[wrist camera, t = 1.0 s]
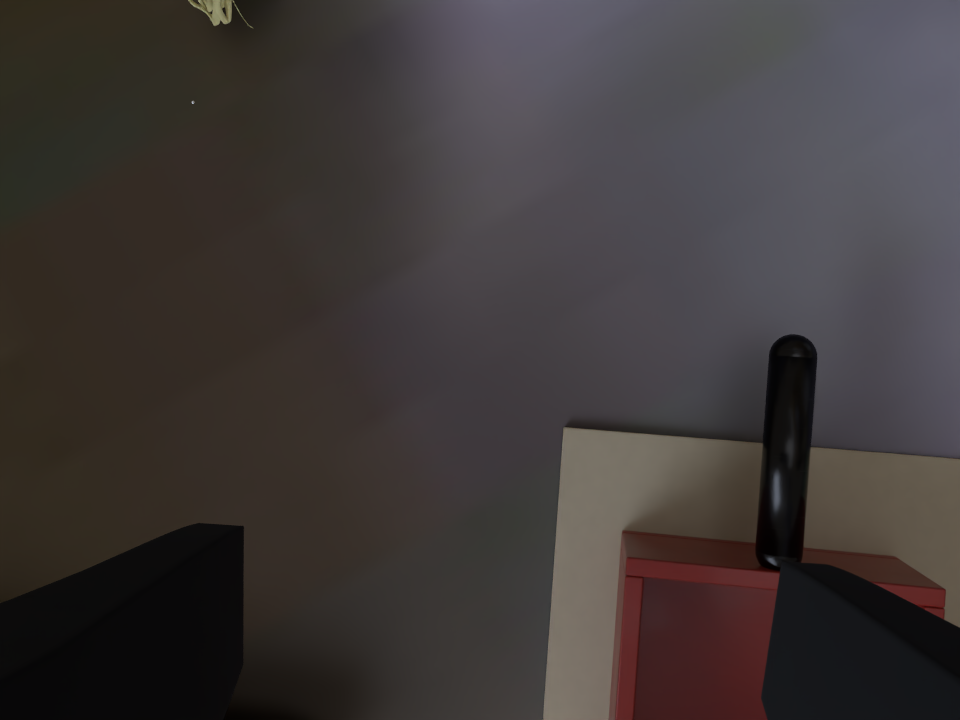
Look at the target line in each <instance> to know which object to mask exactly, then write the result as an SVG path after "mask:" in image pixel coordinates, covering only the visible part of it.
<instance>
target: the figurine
mask: <svg viewBox="0 0 960 720" xmlns="http://www.w3.org/2000/svg"><path fill="white" fill-rule="evenodd" d="M188 1H189V2H190V3H191V4H192V5H193V6H195V7H196V8H198V9H200V10H202V11H203V12H205V13H206V14H207V15H208V16H209V18H210V19H211V21H212V23H213V25H214V26H216V25H218V24H219V23H220V20H221V21H222V22H223V23H224V24H228V23H229V22H230V21H231V17H232V0H198V1H199V3H200V4H201V5H198V4H196V3H195V2H194V1H192V0H188ZM233 2H234V1H233ZM234 4H235V3H234ZM235 6H236V5H235ZM224 7H225V9H226V16H225V15H224V13H223V10H222V8H224ZM236 8H237V7H236ZM212 10H213V12H212V14H210V13H209V12H211V11H212ZM237 10H238V9H237ZM238 11H239V10H238ZM239 13H240V12H239ZM240 15H241V14H240ZM241 16H242V15H241ZM242 18H243V17H242ZM243 19H244V18H243ZM244 21H245V19H244ZM245 22H246V21H245ZM246 23H247V22H246ZM247 24H248V23H247ZM248 25H249V24H248ZM249 26H250V25H249ZM250 27H251V26H250ZM251 28H253V27H251ZM194 103H195V102H194V101H192V104H194Z"/></svg>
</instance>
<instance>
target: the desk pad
mask: <svg viewBox="0 0 960 720" xmlns="http://www.w3.org/2000/svg"><path fill="white" fill-rule="evenodd" d="M762 447H763V443H757V442H744V441H732V440H720V439H707V438H695V437H682V436H670V435H657V434H645V433H632V432H620V431H607V430H595V429H582V428H570V427H564V429H563V443H562V457H561V471H560V486H559V500H558V514H557V529H556V543H555V557H554V571H553V586H552V600H551V614H550V628H549V643H548V657H547V671H546V686H545V700H544V714H543V720H608V719H609V705H610V690H611V676H612V662H613V648H614V634H615V620H616V606H617V591H618V577H619V563H620V549H621V535H622V531H623V530H627V531H637V532H647V533H658V534H668V535H679V536H689V537H699V538H710V539H720V540H731V541H741V542H752V543H756V530H757V516H758V502H759V488H760V474H761V461H762ZM804 548H814V549H824V550H835V551H845V552H856V553H866V554H877V555H887V556H895V557H897V558H898V559H900V560H901V561H903V562H904V563H906V564H907V565H909V566H911V567H912V568H914V569H915V570H917V571H918V572H920V573H921V574H923V575H924V576H926V577H927V578H929V579H931V580H932V581H934V582H935V583H937V584H938V585H940V586H941V587H943V588H944V589H946V599H945V607H944V609H945V615H944V620H946V621H948V622H950V623H952V624H954V625H956V626H958V627H960V459H956V458H944V457H931V456H919V455H907V454H894V453H882V452H869V451H857V450H844V449H832V448H819V447H811V451H810V465H809V479H808V493H807V507H806V520H805V534H804Z"/></svg>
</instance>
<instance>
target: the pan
mask: <svg viewBox="0 0 960 720" xmlns="http://www.w3.org/2000/svg"><path fill="white" fill-rule="evenodd" d="M816 369H817V352H816V349H815V347H814V345H813V344H812V342H811V341H810V340H808V339H807V338H805V337H804V336H801V335H796V334H790V335H785V336H783V337H781V338H779V339H778V340H777V341H776V342H775V343H774V344H773V345H772V347H771V349H770V353H769V363H768V377H767V391H766V405H765V419H764V433H763V447H762V461H761V474H760V488H759V502H758V516H757V530H756V543H752V542H741V541H731V540H720V539H710V538H699V537H689V536H679V535H668V534H658V533H647V532H637V531H627V530H623V531H622V535H621V549H620V563H619V577H618V591H617V606H616V620H615V634H614V648H613V662H612V676H611V690H610V705H609V719H608V720H767V716H766V713H765V710H764V707H763V703H762V700H761V694H762V687H763V681H764V674H765V668H766V661H767V654H768V648H769V641H770V635H771V628H772V621H773V615H774V608H775V602H776V595H777V588H778V582H779V575H780V569H781V562H782V561H785V562H800V563H816V564H828V565H831V566H834V567H837V568H840V569H843V570H845V571H848V572H850V573H853V574H855V575H857V576H859V577H861V578H863V579H866V580H868V581H870V582H872V583H874V584H876V585H878V586H880V587H882V588H884V589H886V590H888V591H890V592H892V593H894V594H896V595H898V596H899V597H901V598H903V599H905V600H907V601H909V602H911V603H913V604H915V605H917V606H919V607H921V608H923V609H925V610H927V611H928V612H930V613H932V614H934V615H936V616H938V617H940V618H942V619H944V615H945V609H944V607H945V599H946V589H944V588H943V587H941V586H940V585H938V584H937V583H935V582H934V581H932V580H931V579H929V578H927V577H926V576H924V575H923V574H921V573H920V572H918V571H917V570H915V569H914V568H912V567H911V566H909V565H907V564H906V563H904V562H903V561H901V560H900V559H898V558H897V557H895V556H887V555H877V554H866V553H856V552H845V551H835V550H824V549H814V548H804V534H805V520H806V507H807V493H808V479H809V465H810V451H811V438H812V424H813V410H814V396H815V383H816Z"/></svg>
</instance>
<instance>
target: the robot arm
mask: <svg viewBox="0 0 960 720" xmlns="http://www.w3.org/2000/svg"><path fill="white" fill-rule="evenodd" d="M243 564H244V526H234V525H219V524H203V523H197V524H193V525H189V526H186V527H183V528H180V529H178V530H175V531H172V532H170V533H168V534H165V535H163V536H160V537H158V538H156V539H153V540H151V541H149V542H147V543H144V544H142V545H140V546H138V547H135V548H133V549H131V550H129V551H126V552H124V553H122V554H119V555H117V556H115V557H113V558H110V559H108V560H106V561H104V562H101V563H99V564H97V565H95V566H92V567H90V568H88V569H86V570H83V571H81V572H78V573H76V574H73V575H71V576H68V577H66V578H63V579H61V580H58V581H56V582H53V583H51V584H48V585H46V586H43V587H41V588H38V589H36V590H33V591H31V592H28V593H26V594H23V595H21V596H18V597H16V598H13V599H11V600H8V601H5V602H2V603H0V720H223V719H224V717H225V714H226V711H227V709H228V706H229V703H230V701H231V698H232V695H233V692H234V689H235V686H236V684H237V681H238V678H239V675H240V672H241V669H242V666H243ZM761 700H762V703H763V707H764V710H765V713H766V716H767V720H960V627H958V626H956V625H954V624H952V623H950V622H948V621H946V620H944V619H942V618H940V617H938V616H936V615H934V614H932V613H930V612H928V611H927V610H925V609H923V608H921V607H919V606H917V605H915V604H913V603H911V602H909V601H907V600H905V599H903V598H901V597H899V596H898V595H896V594H894V593H892V592H890V591H888V590H886V589H884V588H882V587H880V586H878V585H876V584H874V583H872V582H870V581H868V580H866V579H863V578H861V577H859V576H857V575H855V574H853V573H850V572H848V571H845V570H843V569H840V568H837V567H834V566H831V565H828V564H816V563H800V562H785V561H782V562H781V569H780V575H779V582H778V588H777V595H776V602H775V608H774V615H773V621H772V628H771V635H770V641H769V648H768V654H767V661H766V668H765V674H764V681H763V687H762V694H761Z"/></svg>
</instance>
